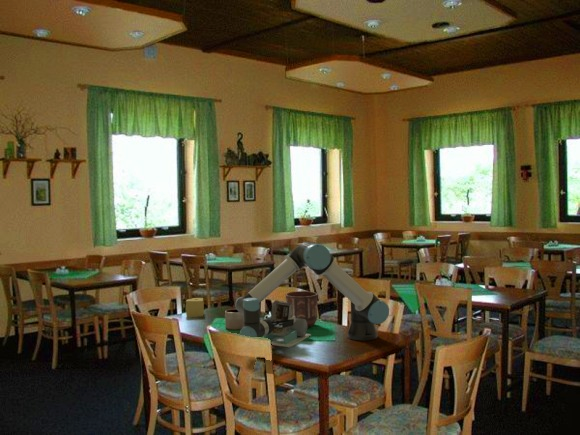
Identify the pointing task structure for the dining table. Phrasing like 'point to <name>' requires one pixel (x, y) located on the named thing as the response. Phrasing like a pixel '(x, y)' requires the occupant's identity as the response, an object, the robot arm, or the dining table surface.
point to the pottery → (304, 305)
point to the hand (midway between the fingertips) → (284, 318)
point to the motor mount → (291, 334)
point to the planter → (234, 319)
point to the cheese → (194, 307)
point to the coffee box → (281, 316)
